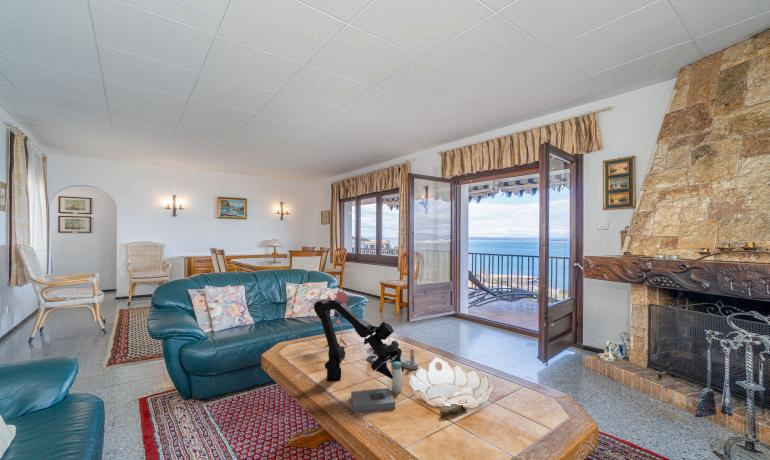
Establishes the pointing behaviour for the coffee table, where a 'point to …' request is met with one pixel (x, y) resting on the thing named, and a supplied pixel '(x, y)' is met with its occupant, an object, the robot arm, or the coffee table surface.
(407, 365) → the electronic device
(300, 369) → the coffee table surface
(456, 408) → the stone
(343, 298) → the figurine
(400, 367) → the peg
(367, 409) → the socket board
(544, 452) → the coffee table surface
